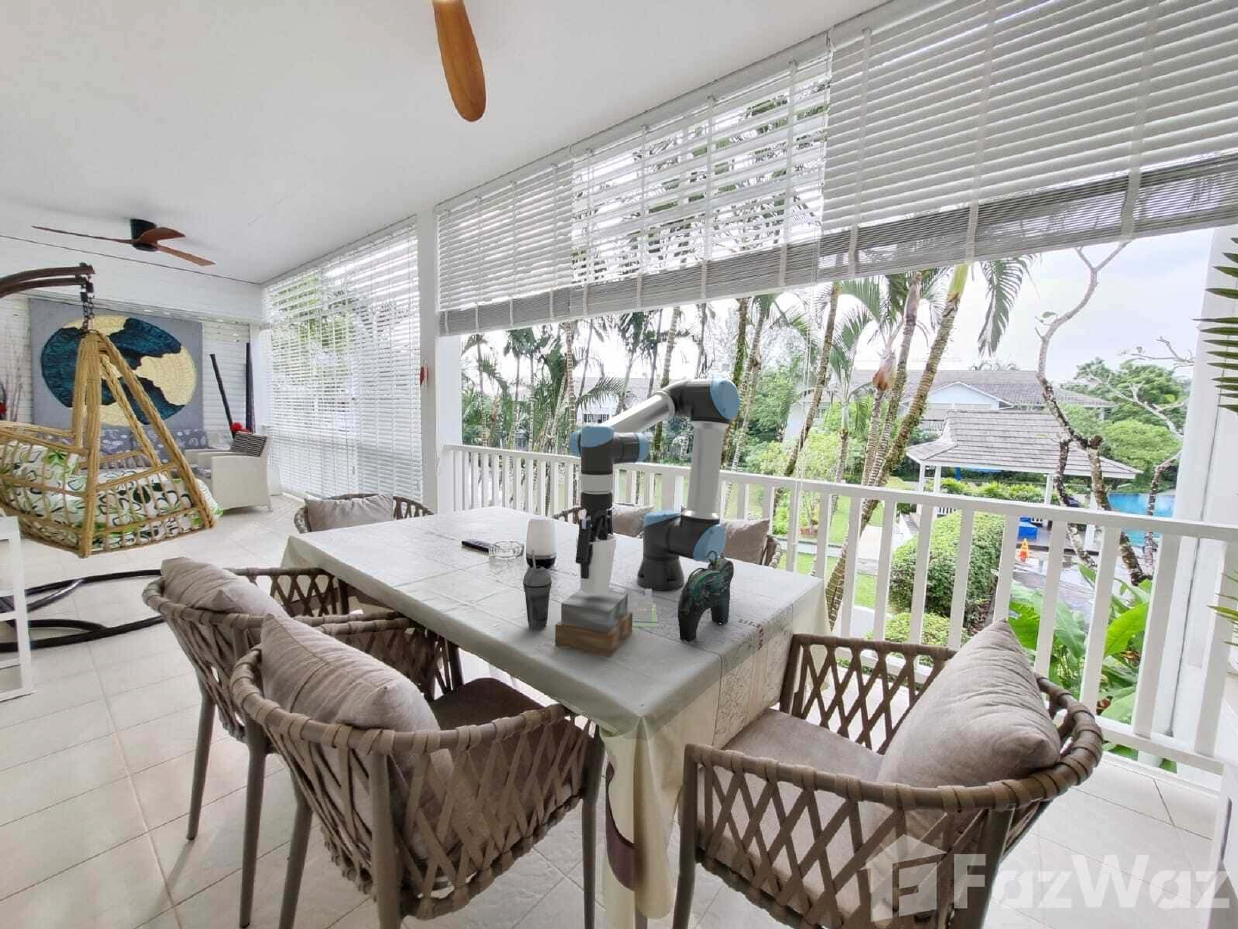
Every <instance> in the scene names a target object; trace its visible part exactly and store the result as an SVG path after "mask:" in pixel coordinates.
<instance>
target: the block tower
mask: <svg viewBox="0 0 1238 929" xmlns="http://www.w3.org/2000/svg"><path fill="white" fill-rule="evenodd" d="M560 605H561V606H560V607H561V608H560V609H561V610H560V613H561V614H560V620H559V621H558V622H557V623H555V627H554V629H555V630H554V632H555V633H554V634H555V635H554V637H555V638H554V639H555V640H554V641H555V642H554V644H555V646H557V647H562V648H566V647H567V648H566V649H570V650H571V649H572V650H575V651H576V650H577V651H580V650H581V651H580V652H584V653H585V652H586V653H590V654H595V655H600V656H604V657H608V658H611V657H612V656H613V655H614V654H615V653H616V651H617V650H618V649H619V648H620V647H621V646H622V644H623V643H624V642H625V641H626V640H627V638H628V637H629V636H630V635H631V634H632V633H633V626H632V622H633V621H632V618H633V612H629V611H627V609H628V593H624V592H621V591H614V590H613V591H608V592H607V593H606V594H603V595H588V594H585V593H583V591H580V589H579V590H577V591H575V592H574V593H573V594H571V595H570V596H568V598H566V599H565V600H563V601H562V602H561V604H560Z"/></svg>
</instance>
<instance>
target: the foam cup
mask: <svg viewBox="0 0 1238 929" xmlns="http://www.w3.org/2000/svg"><path fill="white" fill-rule="evenodd" d="M592 543H593V555H592V560H591V564H593V587H592V592H585V591H583V593H585V594H588V595H603V594H606V593H607V592H608V591H609V588H610V585H611V584H610V583H611V578H612V570H613V564H614V557H615V552H616V549H617V537H616V535H614V534H613V535H612V534H607V540H600V539H598V537H596V541H595V542H590V545H591V544H592ZM577 544H578V535H577V536H575V548H576V549H577ZM578 567H579V575H580V577H581V564H578Z"/></svg>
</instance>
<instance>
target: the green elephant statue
mask: <svg viewBox="0 0 1238 929" xmlns="http://www.w3.org/2000/svg"><path fill="white" fill-rule="evenodd" d="M712 552H714V553H715V556H716V557H715V558H714V559H708V560H709V561H710V563H708V565H707V567H706V568H705V567H698V568H696V569H694V570H693V571H692V572H691V573H689V576H688V578H687V581H686V582H684V585H683V586H682V587H683V588H682V590H681V593H680V597H679V601H678V603H677V604H678V606H677V620H678V628H679V639H680V640H681V641H684V642H687V643H691V642H693V641H695V640H696V639H697V635H698V634H697V633H698V628H699V623H700V621H701V618H702V616H703V615H704V613H705V612H706V611H707V610H708V609H710V614H711V615H710V616H711V617H710V618H711V621H712V622H713V621H714V623H715V622H716V624H718V623H721V624H722V625H723V624H725V623H727V622H728V621H729V616H730V615H729V614H730V601H731V582H732V580H733V577H734V575H735V574H734V573H735V569H734V568H735V567H734V563H733V561H731V560H729V559H727V558H726V557H725V556H724V554H723V552H722V553H721V554H720V556H719V557H718V558H717V554H716V552H715V551H712V550H711V551H709V552H708V554H707V557H709V555H710V553H712ZM726 621H727V622H726ZM721 624H720V625H721Z"/></svg>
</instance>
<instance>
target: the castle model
mask: <svg viewBox="0 0 1238 929" xmlns="http://www.w3.org/2000/svg"><path fill="white" fill-rule="evenodd" d="M644 589H645V590H644V594H645V596H634V595H635V594H634V592H635V591H634V590H633V589H632V588H630V587H627V588H626V589H625V590H624V591H623V593H628V609H627V611H629V612H633V618H632V627H647V628H648V627H650V628H658V616H657V605H656V603H653V600H652V594H653V589H649V588H644ZM609 591H614V587H609ZM653 606H655V607H653ZM645 609H646V610H645ZM652 609H654V610H652Z"/></svg>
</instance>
